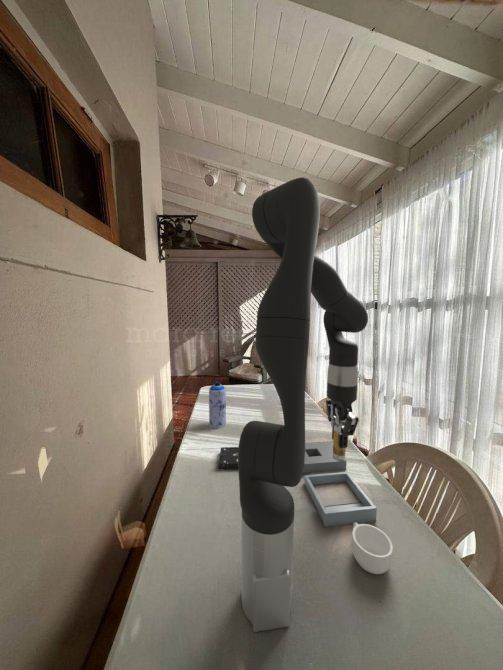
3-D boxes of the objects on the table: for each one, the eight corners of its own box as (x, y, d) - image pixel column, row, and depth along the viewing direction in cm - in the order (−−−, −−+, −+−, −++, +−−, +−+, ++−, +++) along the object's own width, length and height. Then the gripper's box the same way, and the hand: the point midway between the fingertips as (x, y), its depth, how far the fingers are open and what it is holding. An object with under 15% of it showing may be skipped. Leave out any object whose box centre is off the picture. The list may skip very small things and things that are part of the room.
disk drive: (218, 472, 86) (263, 470, 86) (218, 464, 85) (263, 462, 86) (220, 454, 96) (260, 452, 97) (220, 447, 96) (260, 445, 96)
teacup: (400, 577, 52) (402, 552, 51) (366, 586, 50) (368, 561, 50) (367, 534, 62) (368, 513, 61) (338, 541, 60) (339, 519, 59)
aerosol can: (219, 430, 113) (218, 385, 111) (205, 426, 117) (204, 382, 115) (229, 423, 120) (229, 381, 118) (216, 419, 124) (216, 378, 122)
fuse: (347, 460, 69) (348, 428, 68) (335, 461, 69) (337, 429, 68) (341, 453, 72) (343, 422, 71) (330, 454, 72) (331, 423, 71)
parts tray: (376, 520, 65) (376, 508, 65) (324, 526, 64) (325, 513, 63) (346, 482, 80) (347, 471, 79) (304, 486, 78) (304, 475, 78)
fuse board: (346, 472, 85) (346, 460, 84) (292, 476, 82) (292, 465, 82) (329, 452, 97) (330, 441, 96) (282, 455, 94) (282, 445, 94)
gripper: (371, 388, 62) (367, 457, 64) (342, 373, 76) (339, 430, 77) (341, 390, 61) (338, 459, 63) (317, 374, 74) (315, 431, 76)
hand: (339, 443), depth 70 cm, fingers closed on fuse, 3 cm apart
